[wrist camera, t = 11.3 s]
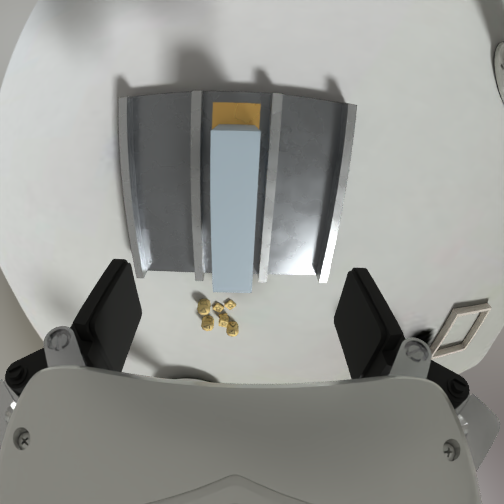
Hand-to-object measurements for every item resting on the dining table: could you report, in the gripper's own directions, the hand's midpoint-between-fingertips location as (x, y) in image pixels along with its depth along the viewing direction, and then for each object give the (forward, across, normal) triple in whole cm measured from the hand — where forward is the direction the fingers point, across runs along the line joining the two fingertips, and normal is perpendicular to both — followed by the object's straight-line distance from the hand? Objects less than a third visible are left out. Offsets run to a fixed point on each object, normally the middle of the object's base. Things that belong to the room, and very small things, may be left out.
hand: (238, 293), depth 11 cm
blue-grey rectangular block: (+15, +1, 0) cm, 15 cm away
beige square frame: (+17, -42, +24) cm, 51 cm away
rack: (+16, +1, 0) cm, 16 cm away
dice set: (+16, +2, +16) cm, 23 cm away
